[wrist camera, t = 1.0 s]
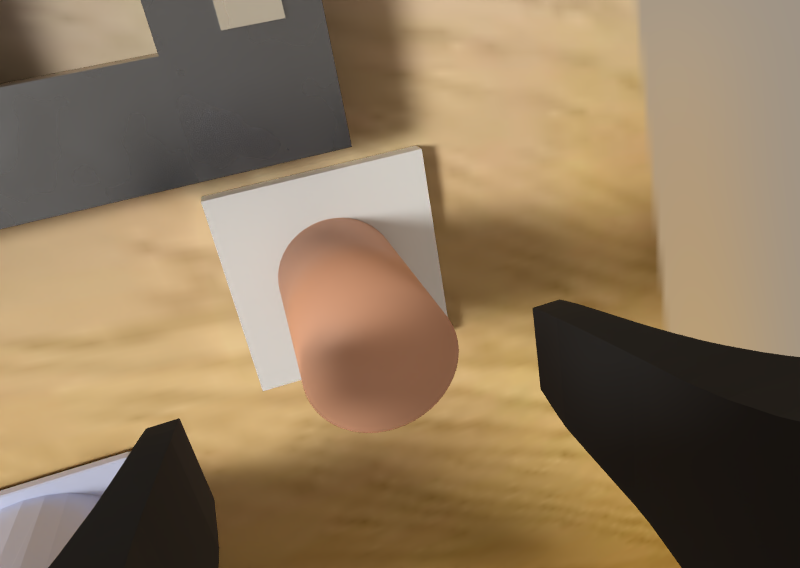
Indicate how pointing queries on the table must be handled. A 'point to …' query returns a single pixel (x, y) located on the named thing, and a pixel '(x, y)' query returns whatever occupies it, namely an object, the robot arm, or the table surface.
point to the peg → (363, 328)
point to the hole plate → (173, 108)
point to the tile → (300, 208)
